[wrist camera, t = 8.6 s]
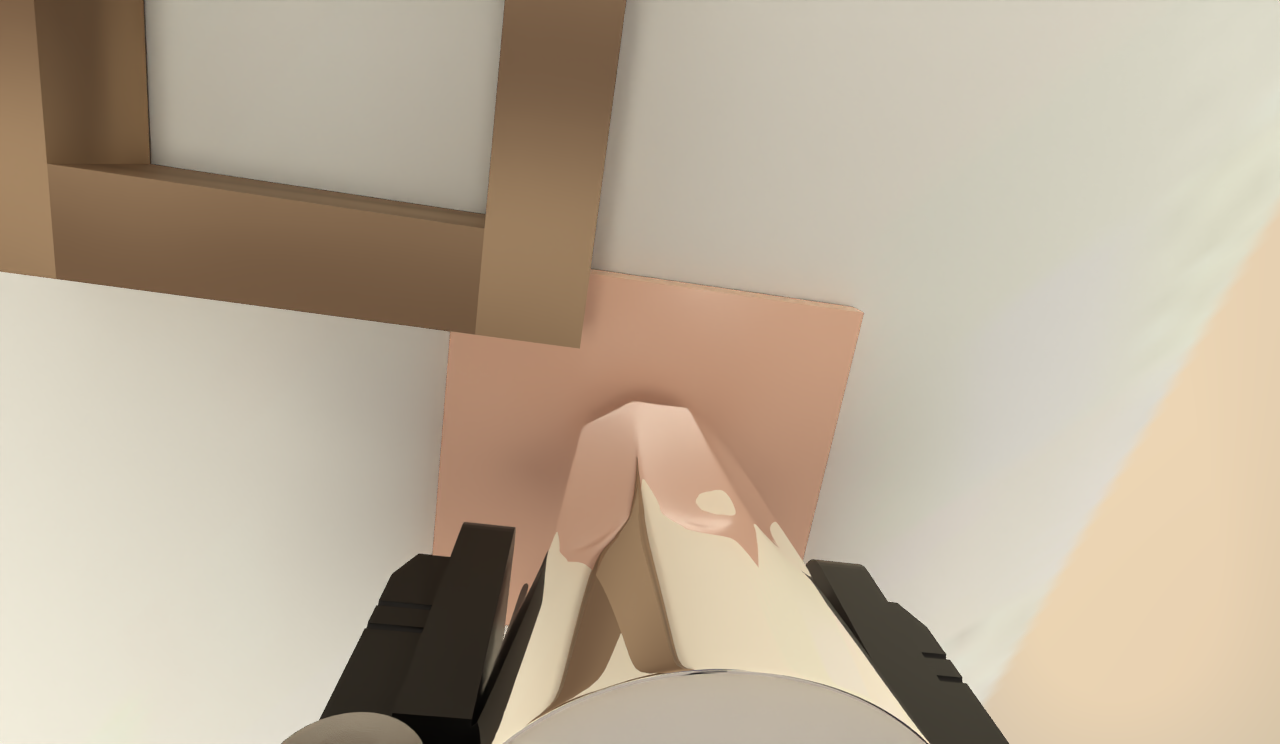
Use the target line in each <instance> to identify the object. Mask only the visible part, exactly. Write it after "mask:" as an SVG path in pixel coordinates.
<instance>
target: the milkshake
mask: <svg viewBox="0 0 1280 744" xmlns="http://www.w3.org/2000/svg"><path fill="white" fill-rule="evenodd" d="M464 744H932V743H931V741H930V740H929V739H928V737H927V736H926V734H925V733H924V732H923V730H922V729H921V727H920V726H919V725H918V723H917V722H916V720H915V719H914V718H913V716H912V715H911V714H910V712H909V711H908V709H907V708H906V707H905V705H904V704H903V702H902V701H901V700H900V698H899V697H898V695H897V694H896V693H895V691H894V690H893V688H892V687H891V686H890V684H889V683H888V682H887V680H886V679H885V677H884V676H883V675H882V673H881V672H880V670H879V669H878V668H877V666H876V665H875V663H874V662H873V661H872V659H871V658H870V656H869V655H868V654H867V652H866V651H865V650H864V648H863V647H862V645H861V644H860V643H859V641H858V640H857V638H856V637H855V636H854V634H853V633H852V631H851V630H850V629H849V627H848V626H847V625H846V623H845V622H844V620H843V619H842V618H841V616H840V615H839V613H838V612H837V611H836V609H835V608H834V607H833V605H832V604H831V602H830V601H829V600H828V598H827V597H826V596H825V594H824V593H823V591H822V590H821V588H820V587H819V585H818V584H817V582H816V581H815V579H814V578H813V576H812V575H811V573H810V571H809V570H808V568H807V567H806V565H805V564H804V562H803V561H802V559H801V558H800V556H799V554H798V553H797V551H796V550H795V548H794V547H793V545H792V544H791V542H790V541H789V539H788V538H787V536H786V535H785V533H784V531H783V530H782V528H781V527H780V525H779V524H778V522H777V521H776V519H775V518H774V516H773V515H772V513H771V512H770V510H769V509H768V507H767V505H766V504H765V502H764V501H763V499H762V498H761V496H760V495H759V493H758V492H757V490H756V489H755V487H754V486H753V484H752V483H751V481H750V480H749V478H748V476H747V475H746V473H745V472H744V470H743V469H742V467H741V466H740V464H739V463H738V461H737V460H736V458H735V457H734V455H733V454H732V452H731V451H730V449H729V448H728V446H727V445H726V444H725V443H724V442H723V441H722V440H721V439H720V438H719V437H718V436H717V435H715V434H714V433H713V432H712V431H711V430H710V429H709V428H708V427H707V426H706V425H705V424H704V423H703V422H702V421H701V420H700V419H699V418H698V417H697V416H695V415H694V414H693V413H692V412H691V411H690V410H689V409H688V408H684V407H676V406H668V405H661V404H653V403H646V402H639V401H631V402H629V403H627V404H625V405H623V406H621V407H619V408H617V409H615V410H613V411H611V412H609V413H607V414H605V415H603V416H601V417H599V418H597V419H595V420H593V421H591V422H589V423H587V424H585V425H583V426H582V428H581V430H580V432H579V434H578V436H577V438H576V440H575V442H574V444H573V446H572V448H571V450H570V452H569V454H568V456H567V457H566V459H565V461H564V463H563V465H562V467H561V469H560V471H559V473H558V475H557V478H556V481H555V484H554V487H553V490H552V494H551V497H550V500H549V503H548V506H547V509H546V512H545V515H544V518H543V521H542V525H541V528H540V531H539V534H538V537H537V540H536V543H535V546H534V549H533V552H532V556H531V559H530V562H529V565H528V568H527V571H526V574H525V577H524V580H523V583H522V587H521V590H520V593H519V596H518V599H517V602H516V605H515V608H514V611H513V614H512V618H511V621H510V624H509V627H508V630H507V632H506V635H505V637H504V640H503V642H502V644H501V647H500V649H499V652H498V654H497V657H496V660H495V662H494V665H493V667H492V670H491V673H490V675H489V678H488V681H487V683H486V686H485V689H484V691H483V694H482V697H481V699H480V702H479V705H478V707H477V710H476V713H475V716H474V719H473V722H472V726H471V729H470V731H469V733H468V735H467V737H466V740H465V742H464Z"/></svg>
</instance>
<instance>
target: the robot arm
mask: <svg viewBox="0 0 1280 744" xmlns="http://www.w3.org/2000/svg"><path fill="white" fill-rule="evenodd" d="M515 533H516V527H510V526H500V525H491V524H481V523H472V522H464V523H463V524H462V527H461V529H460V532H459V535H458V537H457V540H456V543H455V545H454V548H453V551H452V553H451V556H450V557H446V556H437V555H427V554H418V555H416V556H415V557H414V558H412V559H411V560H410V561H408V562H407V563H406V564H405V565H403V566H402V567H401V568H399V569H398V570H397V571H395V572H394V573H393V574H392V575H391V577H390V579H389V581H388V583H387V585H386V587H385V589H384V591H383V593H382V595H381V597H380V599H379V603H378V606H377V605H376V607H375V609H374V611H373V613H372V615H371V617H370V619H369V621H368V625H367V628H365V629H364V631H363V633H362V635H361V637H360V639H359V641H358V643H357V645H356V647H355V649H354V651H353V653H352V655H351V657H350V659H349V661H348V663H347V665H346V667H345V669H344V671H343V673H342V675H341V677H340V679H339V681H338V683H337V685H336V687H335V689H334V691H333V693H332V695H331V697H330V699H329V701H328V703H327V705H326V707H325V709H324V711H323V713H322V715H321V717H320V719H319V721H316V722H314V723H312V724H310V725H307V726H306V727H304V728H302V729H300V730H299V731H297V732H295V733H294V734H293V735H291V736H290V737H289V738H287V739H286V740H285V741H283V742H282V743H281V744H464V742H465V740H466V737H467V735H468V733H469V731H470V729H471V726H472V722H473V719H474V716H475V713H476V710H477V707H478V705H479V702H480V699H481V697H482V694H483V691H484V689H485V686H486V683H487V681H488V678H489V675H490V673H491V670H492V667H493V665H494V662H495V660H496V657H497V654H498V652H499V649H500V647H501V644H502V642H503V637H504V629H505V622H506V613H507V604H508V596H509V587H510V578H511V570H512V561H513V553H514V544H515ZM806 567H807V568H808V570H809V571H810V573H811V575H812V576H813V578H814V579H815V581H816V582H817V584H818V585H819V587H820V588H821V590H822V591H823V593H824V594H825V596H826V597H827V598H828V600H829V601H830V602H831V604H832V605H833V607H834V608H835V609H836V611H837V612H838V613H839V615H840V616H841V618H842V619H843V620H844V622H845V623H846V625H847V626H848V627H849V629H850V630H851V631H852V633H853V634H854V636H855V637H856V638H857V640H858V641H859V643H860V644H861V645H862V647H863V648H864V650H865V651H866V652H867V654H868V655H869V656H870V658H871V659H872V661H873V662H874V663H875V665H876V666H877V668H878V669H879V670H880V672H881V673H882V675H883V676H884V677H885V679H886V680H887V682H888V683H889V684H890V686H891V687H892V688H893V690H894V691H895V693H896V694H897V695H898V697H899V698H900V700H901V701H902V702H903V704H904V705H905V707H906V708H907V709H908V711H909V712H910V714H911V715H912V716H913V718H914V719H915V720H916V722H917V723H918V725H919V726H920V727H921V729H922V730H923V732H924V733H925V734H926V736H927V737H928V739H929V740H930V741H931V743H932V744H1009V743H1008V741H1007V740H1006V738H1005V737H1004V736H1003V734H1002V733H1001V731H1000V730H999V729H998V727H997V726H996V724H995V723H994V722H993V720H992V719H991V717H990V716H989V714H988V713H987V712H986V710H985V709H984V707H983V706H982V705H981V703H980V702H979V700H978V699H977V697H976V696H975V695H974V693H973V692H972V690H971V689H970V688H969V686H968V685H967V684H966V683H963V682H962V676H961V675H960V673H959V672H958V671H957V669H956V668H955V666H954V665H953V663H952V662H951V661H950V660H946V654H945V652H944V651H943V649H942V648H941V647H940V645H939V644H938V642H937V641H936V639H935V638H934V637H933V635H932V634H931V632H930V631H929V630H928V628H927V627H926V626H925V625H924V624H922V623H921V622H920V621H919V620H917V619H916V618H915V617H914V616H913V615H911V614H910V613H909V612H908V611H906V610H905V609H904V608H903V607H901V606H900V605H899V604H898V603H894V602H888V601H887V600H886V598H885V597H884V595H883V594H882V592H881V591H880V589H879V588H878V586H877V585H876V583H875V582H874V580H873V578H872V577H871V575H870V574H869V572H868V571H867V570H866V568H865V567H864V566H862V565H860V564H851V563H842V562H833V561H823V560H814V559H813V560H810V561H809V562H808V563H807V564H806Z"/></svg>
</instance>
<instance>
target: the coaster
mask: <svg viewBox="0 0 1280 744" xmlns="http://www.w3.org/2000/svg"><path fill="white" fill-rule="evenodd" d="M863 315H864V313H863V312H862V311H860V310H858V309H856V308H854V307H850V306H843V305H836V304H830V303H823V302H816V301H809V300H802V299H795V298H788V297H781V296H774V295H767V294H761V293H754V292H747V291H740V290H733V289H726V288H719V287H712V286H705V285H698V284H691V283H685V282H678V281H671V280H664V279H657V278H650V277H643V276H636V275H629V274H622V273H616V272H609V271H602V270H595V269H590V276H589V284H588V291H587V299H586V306H585V314H584V321H583V329H582V336H581V344H580V349H579V348H572V347H564V346H557V345H549V344H542V343H534V342H527V341H519V340H512V339H504V338H497V337H489V336H481V335H474V334H466V333H459V332H451V331H450V340H449V353H448V365H447V378H446V391H445V403H444V416H443V428H442V441H441V454H440V466H439V479H438V491H437V504H436V517H435V529H434V542H433V554H432V555H437V556H446V557H450V556H451V553H452V551H453V548H454V545H455V543H456V540H457V537H458V535H459V532H460V529H461V527H462V524H463V523H464V522H472V523H481V524H491V525H500V526H510V527H516V533H515V544H514V553H513V561H512V570H511V578H510V587H509V596H508V604H507V613H506V622H505V625H509V624H510V621H511V618H512V614H513V611H514V608H515V605H516V602H517V599H518V596H519V593H520V590H521V587H522V583H523V580H524V577H525V574H526V571H527V568H528V565H529V562H530V559H531V556H532V552H533V549H534V546H535V543H536V540H537V537H538V534H539V531H540V528H541V525H542V521H543V518H544V515H545V512H546V509H547V506H548V503H549V500H550V497H551V494H552V490H553V487H554V484H555V481H556V478H557V475H558V473H559V471H560V469H561V467H562V465H563V463H564V461H565V459H566V457H567V456H568V454H569V452H570V450H571V448H572V446H573V444H574V442H575V440H576V438H577V436H578V434H579V432H580V430H581V428H582V426H583V425H585V424H587V423H589V422H591V421H593V420H595V419H597V418H599V417H601V416H603V415H605V414H607V413H609V412H611V411H613V410H615V409H617V408H619V407H621V406H623V405H625V404H627V403H629V402H631V401H639V402H646V403H653V404H661V405H668V406H676V407H684V408H688V409H689V410H690V411H691V412H692V413H693V414H694V415H695V416H697V417H698V418H699V419H700V420H701V421H702V422H703V423H704V424H705V425H706V426H707V427H708V428H709V429H710V430H711V431H712V432H713V433H714V434H715V435H717V436H718V437H719V438H720V439H721V440H722V441H723V442H724V443H725V444H726V445H727V446H728V448H729V449H730V451H731V452H732V454H733V455H734V457H735V458H736V460H737V461H738V463H739V464H740V466H741V467H742V469H743V470H744V472H745V473H746V475H747V476H748V478H749V480H750V481H751V483H752V484H753V486H754V487H755V489H756V490H757V492H758V493H759V495H760V496H761V498H762V499H763V501H764V502H765V504H766V505H767V507H768V509H769V510H770V512H771V513H772V515H773V516H774V518H775V519H776V521H777V522H778V524H779V525H780V527H781V528H782V530H783V531H784V533H785V535H786V536H787V538H788V539H789V541H790V542H791V544H792V545H793V547H794V548H795V550H796V551H797V553H798V554H799V556H800V558H801V559H802V561H803V557H804V553H805V549H806V545H807V541H808V537H809V533H810V529H811V525H812V521H813V517H814V513H815V509H816V505H817V501H818V497H819V493H820V489H821V485H822V481H823V476H824V472H825V468H826V464H827V460H828V456H829V452H830V448H831V444H832V440H833V436H834V432H835V428H836V424H837V420H838V416H839V412H840V408H841V404H842V400H843V396H844V392H845V387H846V383H847V379H848V375H849V371H850V367H851V363H852V359H853V355H854V351H855V347H856V343H857V339H858V335H859V331H860V327H861V323H862V319H863Z"/></svg>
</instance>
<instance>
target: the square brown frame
mask: <svg viewBox="0 0 1280 744" xmlns="http://www.w3.org/2000/svg"><path fill="white" fill-rule="evenodd" d="M625 7H626V0H505V6H504V17H503V28H502V39H501V50H500V61H499V72H498V84H497V95H496V106H495V117H494V128H493V139H492V151H491V162H490V173H489V184H488V195H487V206H486V214H479V213H472V212H466V211H459V210H452V209H446V208H439V207H432V206H426V205H419V204H413V203H406V202H399V201H393V200H386V199H379V198H373V197H366V196H359V195H353V194H346V193H339V192H333V191H326V190H319V189H313V188H306V187H299V186H293V185H286V184H280V183H273V182H266V181H260V180H253V179H246V178H240V177H233V176H226V175H220V174H213V173H206V172H200V171H193V170H186V169H180V168H173V167H167V166H160V165H153V164H150V149H149V124H148V100H147V75H146V51H145V26H144V2H143V0H0V271H1V272H8V273H16V274H23V275H31V276H38V277H46V278H53V279H61V280H68V281H76V282H83V283H91V284H98V285H106V286H113V287H121V288H129V289H136V290H144V291H151V292H159V293H166V294H174V295H181V296H189V297H196V298H204V299H211V300H219V301H226V302H234V303H241V304H249V305H256V306H264V307H271V308H279V309H286V310H294V311H301V312H309V313H316V314H324V315H331V316H339V317H346V318H354V319H361V320H369V321H376V322H384V323H391V324H399V325H406V326H414V327H421V328H429V329H436V330H444V331H451V332H459V333H466V334H474V335H481V336H489V337H497V338H504V339H512V340H519V341H527V342H534V343H542V344H549V345H557V346H564V347H572V348H579V349H580V344H581V336H582V329H583V321H584V314H585V306H586V299H587V291H588V284H589V276H590V269H591V261H592V254H593V246H594V239H595V231H596V224H597V216H598V209H599V201H600V194H601V186H602V179H603V171H604V164H605V156H606V149H607V141H608V134H609V126H610V119H611V111H612V104H613V96H614V89H615V81H616V74H617V66H618V59H619V51H620V44H621V36H622V29H623V22H624V14H625Z"/></svg>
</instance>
